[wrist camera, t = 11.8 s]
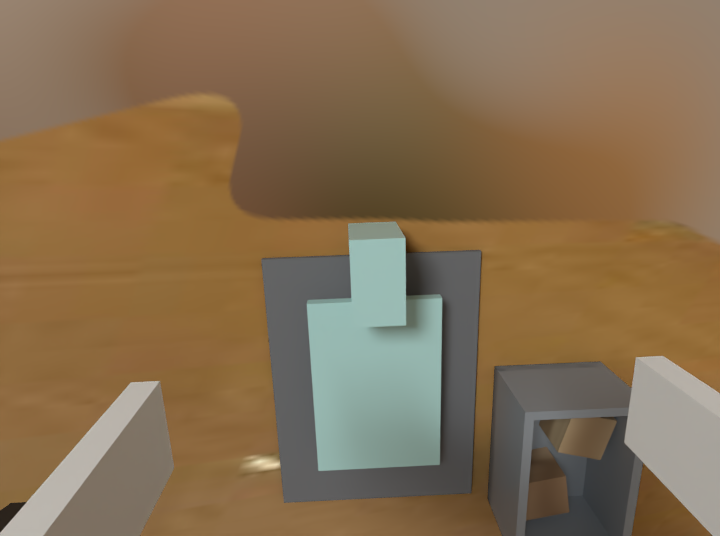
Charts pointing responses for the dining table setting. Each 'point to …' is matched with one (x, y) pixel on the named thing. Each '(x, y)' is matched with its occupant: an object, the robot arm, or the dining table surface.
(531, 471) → the cube
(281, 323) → the mat
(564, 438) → the cube
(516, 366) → the tub
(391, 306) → the block with upright tab
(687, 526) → the dining table surface
